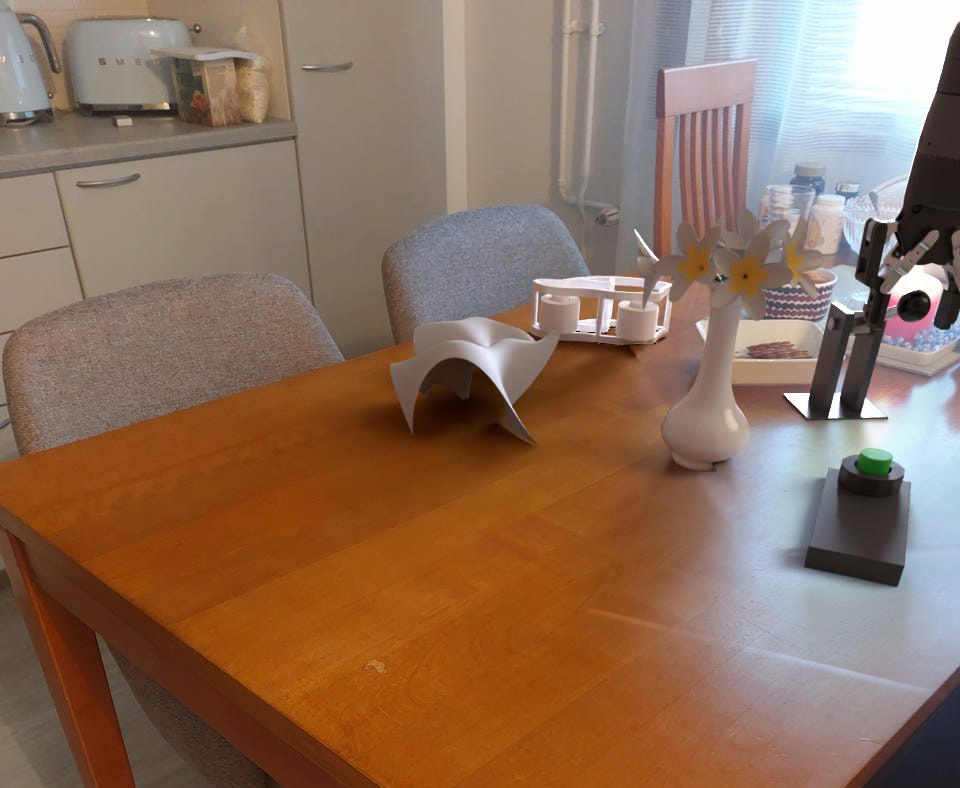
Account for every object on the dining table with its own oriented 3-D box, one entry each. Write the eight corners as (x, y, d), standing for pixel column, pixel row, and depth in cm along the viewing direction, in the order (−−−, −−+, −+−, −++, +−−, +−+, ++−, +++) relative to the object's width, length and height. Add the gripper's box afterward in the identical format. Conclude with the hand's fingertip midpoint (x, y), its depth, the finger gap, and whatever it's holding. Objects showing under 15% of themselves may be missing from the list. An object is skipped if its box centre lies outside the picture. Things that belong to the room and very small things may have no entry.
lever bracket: (885, 426, 110) (918, 318, 103) (805, 428, 109) (832, 318, 102) (857, 401, 117) (885, 297, 109) (781, 402, 116) (804, 298, 108)
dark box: (824, 483, 97) (833, 448, 95) (905, 498, 95) (916, 462, 92) (803, 567, 83) (813, 528, 81) (897, 587, 81) (910, 547, 78)
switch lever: (936, 320, 94) (938, 286, 93) (906, 320, 93) (908, 286, 93) (862, 339, 108) (863, 311, 108) (835, 339, 108) (837, 311, 107)
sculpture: (419, 361, 125) (418, 286, 119) (559, 370, 123) (564, 295, 118) (382, 434, 105) (378, 349, 99) (548, 446, 103) (554, 359, 98)
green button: (857, 461, 93) (861, 445, 92) (888, 467, 92) (893, 451, 91) (855, 473, 91) (859, 456, 90) (887, 479, 90) (892, 462, 89)
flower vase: (602, 436, 106) (627, 199, 91) (760, 437, 107) (810, 202, 92) (620, 488, 95) (652, 228, 81) (796, 488, 96) (859, 231, 81)
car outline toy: (524, 342, 133) (526, 289, 128) (536, 320, 141) (539, 270, 137) (664, 355, 129) (672, 301, 125) (668, 331, 138) (675, 280, 134)
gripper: (905, 154, 83) (856, 340, 92) (1055, 156, 84) (991, 339, 94) (868, 142, 89) (826, 317, 98) (1009, 144, 90) (954, 317, 100)
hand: (907, 327), depth 96 cm, fingers open, 7 cm apart
